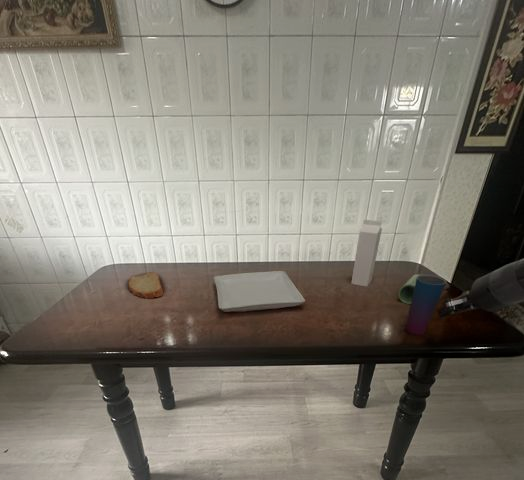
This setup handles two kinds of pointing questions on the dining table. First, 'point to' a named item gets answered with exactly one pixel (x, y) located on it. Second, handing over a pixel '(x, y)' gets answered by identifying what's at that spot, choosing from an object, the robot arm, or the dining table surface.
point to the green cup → (408, 290)
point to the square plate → (256, 291)
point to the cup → (424, 302)
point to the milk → (366, 252)
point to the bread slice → (146, 285)
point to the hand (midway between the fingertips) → (440, 313)
